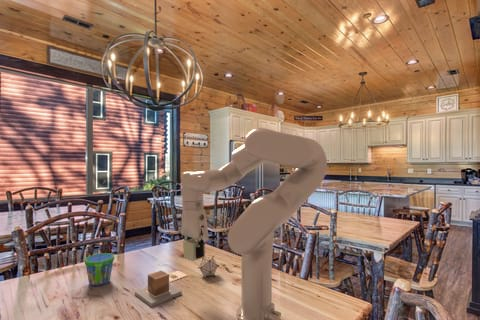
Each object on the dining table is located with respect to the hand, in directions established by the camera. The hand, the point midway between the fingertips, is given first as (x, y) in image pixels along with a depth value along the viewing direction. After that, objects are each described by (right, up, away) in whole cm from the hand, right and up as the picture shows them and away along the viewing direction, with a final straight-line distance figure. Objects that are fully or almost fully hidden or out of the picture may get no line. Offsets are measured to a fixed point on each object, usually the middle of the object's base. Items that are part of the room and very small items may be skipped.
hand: (194, 255), depth 98 cm
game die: (+3, -15, +18) cm, 23 cm away
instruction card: (-12, -15, +16) cm, 25 cm away
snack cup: (-40, -15, +11) cm, 44 cm away
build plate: (-13, -15, +1) cm, 20 cm away
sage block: (0, -1, 0) cm, 1 cm away
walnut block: (-13, -14, +1) cm, 19 cm away
